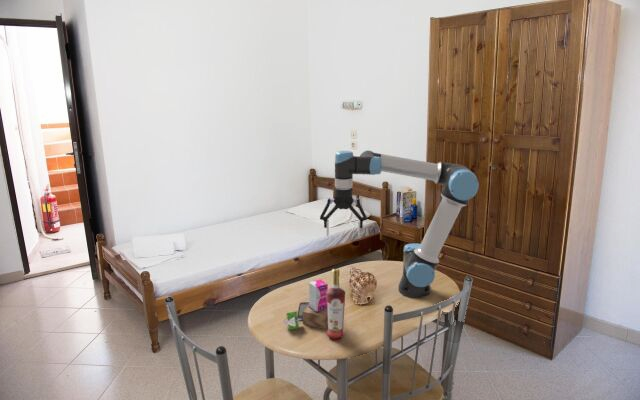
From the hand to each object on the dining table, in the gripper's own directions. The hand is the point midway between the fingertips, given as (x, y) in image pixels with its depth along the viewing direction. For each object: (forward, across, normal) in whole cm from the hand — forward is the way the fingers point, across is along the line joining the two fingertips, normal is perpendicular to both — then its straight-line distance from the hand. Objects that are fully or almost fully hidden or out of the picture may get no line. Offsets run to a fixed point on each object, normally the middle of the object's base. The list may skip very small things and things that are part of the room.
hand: (343, 235), depth 202 cm
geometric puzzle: (+32, +20, +24) cm, 45 cm away
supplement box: (+26, +10, +18) cm, 33 cm away
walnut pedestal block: (+32, +10, +18) cm, 38 cm away
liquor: (+32, +2, +30) cm, 44 cm away
